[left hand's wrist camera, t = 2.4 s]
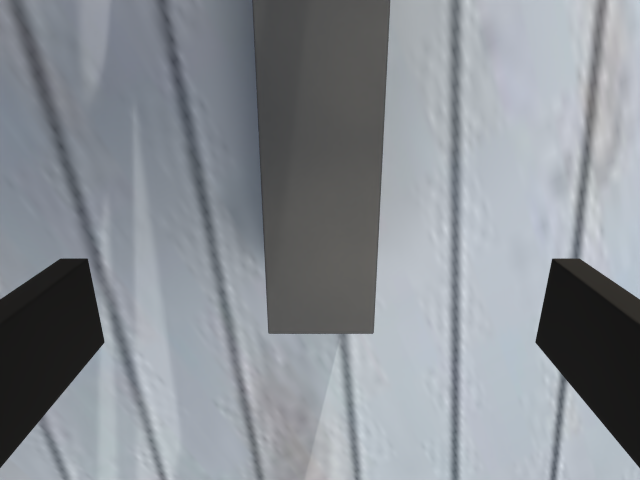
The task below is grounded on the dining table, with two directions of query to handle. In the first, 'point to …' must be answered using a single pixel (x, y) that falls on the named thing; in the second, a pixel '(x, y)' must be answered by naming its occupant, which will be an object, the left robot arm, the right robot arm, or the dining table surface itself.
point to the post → (321, 159)
